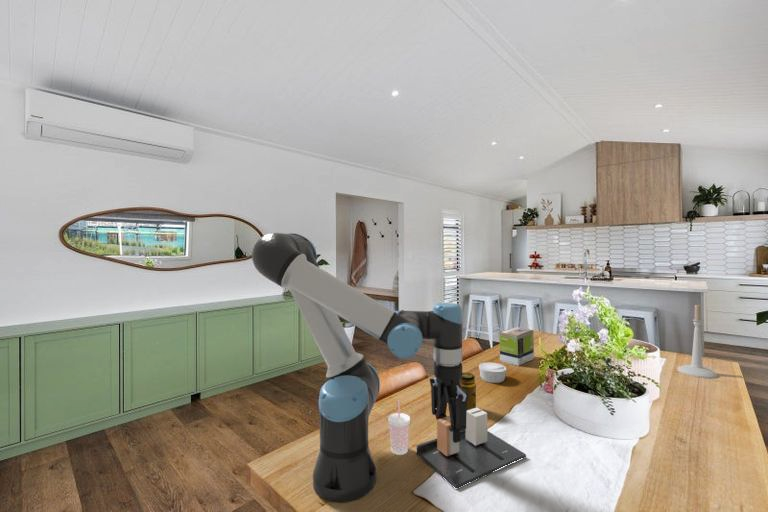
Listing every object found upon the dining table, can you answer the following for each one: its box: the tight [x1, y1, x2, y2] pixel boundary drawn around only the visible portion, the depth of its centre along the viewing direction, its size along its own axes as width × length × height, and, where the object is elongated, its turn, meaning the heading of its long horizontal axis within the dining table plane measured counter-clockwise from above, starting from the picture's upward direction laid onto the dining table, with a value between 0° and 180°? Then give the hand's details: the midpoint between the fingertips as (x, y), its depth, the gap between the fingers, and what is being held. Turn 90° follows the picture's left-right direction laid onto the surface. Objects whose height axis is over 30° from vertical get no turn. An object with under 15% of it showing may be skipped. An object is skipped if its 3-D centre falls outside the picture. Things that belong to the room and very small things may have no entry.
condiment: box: [460, 372, 477, 410], centre depth 121 cm, size 7×8×12 cm
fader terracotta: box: [436, 415, 460, 456], centre depth 94 cm, size 4×4×8 cm
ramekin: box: [478, 362, 507, 384], centre depth 148 cm, size 11×11×5 cm
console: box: [416, 429, 527, 489], centre depth 94 cm, size 24×16×2 cm, turn 119°
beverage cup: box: [387, 399, 411, 456], centre depth 97 cm, size 6×6×14 cm
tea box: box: [499, 326, 535, 367], centre depth 171 cm, size 15×10×15 cm
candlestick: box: [677, 303, 718, 379], centre depth 152 cm, size 13×13×30 cm
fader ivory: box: [466, 407, 488, 446], centre depth 99 cm, size 4×4×8 cm
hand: (448, 447), depth 94 cm, fingers closed on fader terracotta, 4 cm apart
